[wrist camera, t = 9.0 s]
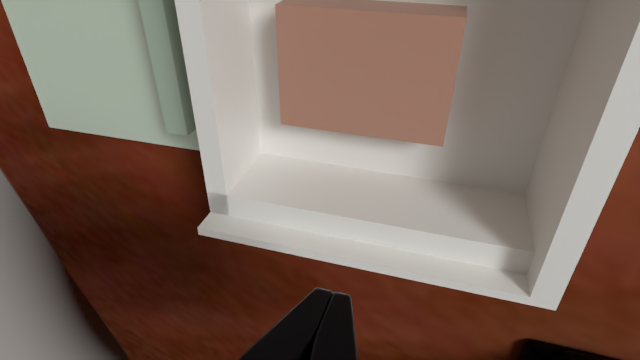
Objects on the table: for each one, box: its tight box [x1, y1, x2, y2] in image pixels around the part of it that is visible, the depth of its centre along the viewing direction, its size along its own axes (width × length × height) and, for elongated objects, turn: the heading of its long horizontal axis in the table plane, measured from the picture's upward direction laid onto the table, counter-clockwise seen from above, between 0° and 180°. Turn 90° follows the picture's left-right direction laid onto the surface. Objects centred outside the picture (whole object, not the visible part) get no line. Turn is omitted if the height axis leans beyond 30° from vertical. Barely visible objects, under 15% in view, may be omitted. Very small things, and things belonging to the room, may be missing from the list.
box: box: [174, 0, 640, 311], centre depth 16 cm, size 14×15×6 cm
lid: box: [1, 0, 200, 151], centre depth 22 cm, size 13×14×3 cm
